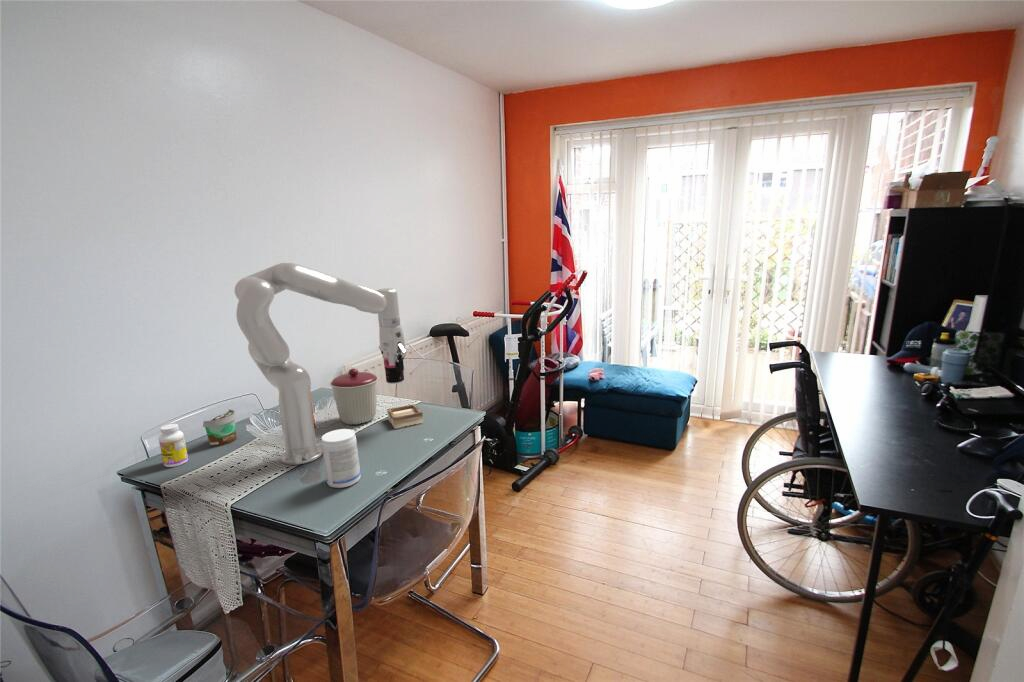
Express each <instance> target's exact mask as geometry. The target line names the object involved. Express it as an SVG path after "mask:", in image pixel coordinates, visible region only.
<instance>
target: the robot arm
mask: <svg viewBox="0 0 1024 682" xmlns="http://www.w3.org/2000/svg"><path fill="white" fill-rule="evenodd" d="M285 290H288V291H291V292H294V293H298V294H301V295H305V296H307V297H310V298H314V299H317V300H320V301H323V302H327V303H331V304H337V305H341V306H342V305H343V306H347V307H351V308H355V309H356V310H358V311H360V312H363V313H364V312H365V313H369V314H373V315H374V314H375V315H377V319H378V326H379V327H378V328H379V329H378V333H379V346H378V349H379V351H380V352H381V355H382V356H381V357H382V359H384V355H383V343H384V344H389V346H390V348H391V352H392V354H394V357H395V359H396V362H395V367H396V372H400V371H403V372H404V371H405V366H404V360H405V357H406V354H407V351H406V349H407V348H406V342H405V337H404V330H403V328H402V325H401V319H400V308H399V296H398V292H397V290H396V288H391V287H390V288H389V287H388V288H381V289H380V288H379V289H371V288H368V287H365V286H362V285H358V284H357V283H353V282H349V281H347V280H344V279H341V278H338V277H335V276H333V275H330V274H327V273H323V272H322V271H318V270H315V269H312V268H309V267H307V266H305V265H301V264H298V263H293V262H281V263H277V264H275V265H273V266H270V267H267V268H265V269H262V270H259V271H258V272H255V273H252V274H249V275H248V276H245V277H242V278H241V279H239V280H238V281H237V283H236V284H235V286H234V295H235V296H236V298H237V300H238V303H237V306H236V322H237V324H238V327H239V330H241V332H242V334H243V335H244V337H245V338H246V340H247V341H248V348H247V349H248V353H249V356H250V357H251V359H252V360H253V362H254V363H255V365H256V367H257V368H258V369H259V371H260V372H261V373H262V376H264V378H265V379H266V380H267V381H268V382H269V384H270V385H272V386H273V387H274V388H276V389H277V391H278V411H279V412H278V413H279V417H280V425H281V429H282V430H281V431H282V438H283V439H282V440H283V444H284V451H285V452H283V453H282V454H281V455H280V456H281V457H280V460H281V463H283V464H285V465H290V466H291V465H292V466H293V465H294V466H297V465H302V464H308V463H311V462H314V461H315V460H317V459H318V458H320V457H321V456H323V451H322V446H319V445H317V439H316V431H315V422H314V415H313V408H312V399H311V398H312V397H311V396H312V395H311V389H312V387H311V386H312V382H311V376H310V374H309V373H308V370H306V368H304V367H303V366H302V365H299V364H297V363H295V362H293V361H292V359H291V358H290V352H291V351H290V348H289V345H288V344H287V342H286V340H285V339H284V338H283V336H282V335H281V333H280V332H279V330H278V329H277V327H276V326H275V324H274V322H273V321H272V319H271V317H270V307H271V304H272V302H273V300H274V299H275V295H277V294H279V293H281V292H283V291H285ZM397 350H400V352H398V353H397ZM398 354H400V355H399V357H398V356H397V355H398ZM383 365H384V366H383V367H384V368H385V364H384V363H383Z"/></svg>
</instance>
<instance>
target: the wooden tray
mask: <svg viewBox="0 0 1024 682" xmlns="http://www.w3.org/2000/svg"><path fill="white" fill-rule="evenodd" d="M423 416H424V415H423V412H422V411H421V409H420V408H419V407H418V406H417V405H416V404H415V403H413V404H409V405H403V406H398V407H392V408H388V409H387V419H388V421H389V423H390V424H391V426H392V427H393V429H395V430H396V429H400V428H401V429H402V428H405V426H406V427H410V425H411V426H415V425H414V424H416V425H420V424H419V423H421V424H424V417H423Z"/></svg>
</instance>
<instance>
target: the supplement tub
mask: <svg viewBox="0 0 1024 682" xmlns="http://www.w3.org/2000/svg"><path fill="white" fill-rule="evenodd" d="M356 436H357V435H356V432H355V431H354V430H353V429H349V428H340V429H334V430H330V431H328V432H326V433H325V434H322V436H321V438H320V439H321V448H322V456H323V463H324V464H323V465H324V470H325V479H326V483H327V485H328V486H329V487H331V488H336V489H341V488H342V489H343V488H347V487H348V488H349V487H351V486H353V485H354V484H356V483H357V482H358V481H359V480H360V479H361V476H362V475H361V467H360V466H361V465H360V459H359V450H358V444H357V443H358V442H357V437H356Z"/></svg>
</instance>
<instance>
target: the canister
mask: <svg viewBox="0 0 1024 682" xmlns="http://www.w3.org/2000/svg"><path fill="white" fill-rule="evenodd" d="M378 381H379V376H378V375H375V374H373V373H370V372H367V371H364V372H363V371H359V370H358V369H357V368H350V369H349V370H348V373H344V374H341V375H338V376H336V377H334V378H333V379H331V380H330V382H329V385H330V386H329V387H331V388H332V393H333V397H334V401H335V405H336V410H337V414H338V417H339V419H340V418H341V419H340V421H341V420H342V421H343V423H344V424H345V425H346V424H347V425H352V424H353V425H354V424H355V425H360V424H361V423H362V424H365V422H366V423H369V422H371V421H372V420H373V419H374V418H375V416H376V414H377V402H378V401H377V395H378V394H377V393H378V391H377V390H378ZM362 424H361V425H362Z"/></svg>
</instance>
